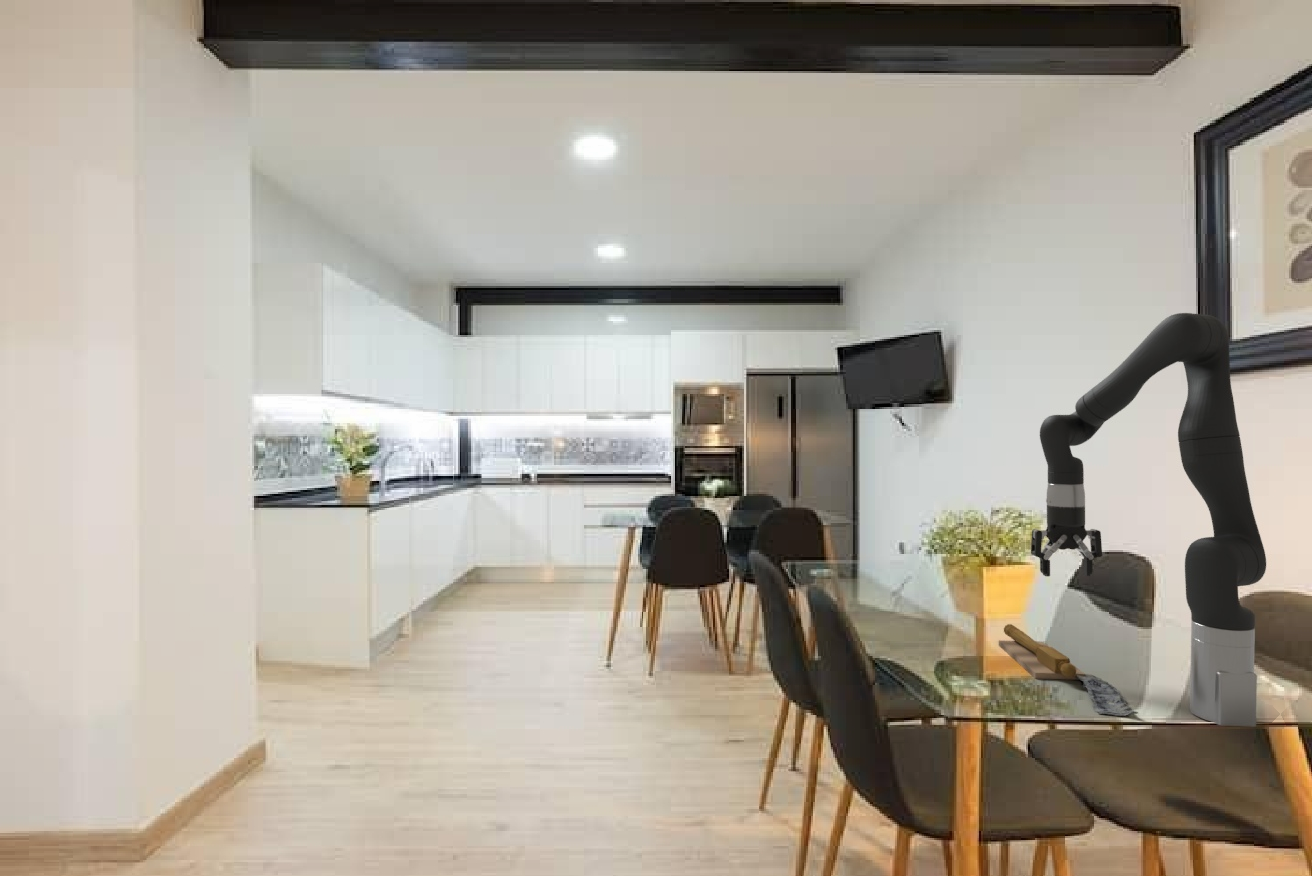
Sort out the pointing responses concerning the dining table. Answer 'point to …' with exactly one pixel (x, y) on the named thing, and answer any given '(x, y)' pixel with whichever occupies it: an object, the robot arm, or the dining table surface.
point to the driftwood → (1105, 696)
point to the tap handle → (1042, 652)
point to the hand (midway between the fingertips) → (1066, 575)
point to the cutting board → (1033, 661)
